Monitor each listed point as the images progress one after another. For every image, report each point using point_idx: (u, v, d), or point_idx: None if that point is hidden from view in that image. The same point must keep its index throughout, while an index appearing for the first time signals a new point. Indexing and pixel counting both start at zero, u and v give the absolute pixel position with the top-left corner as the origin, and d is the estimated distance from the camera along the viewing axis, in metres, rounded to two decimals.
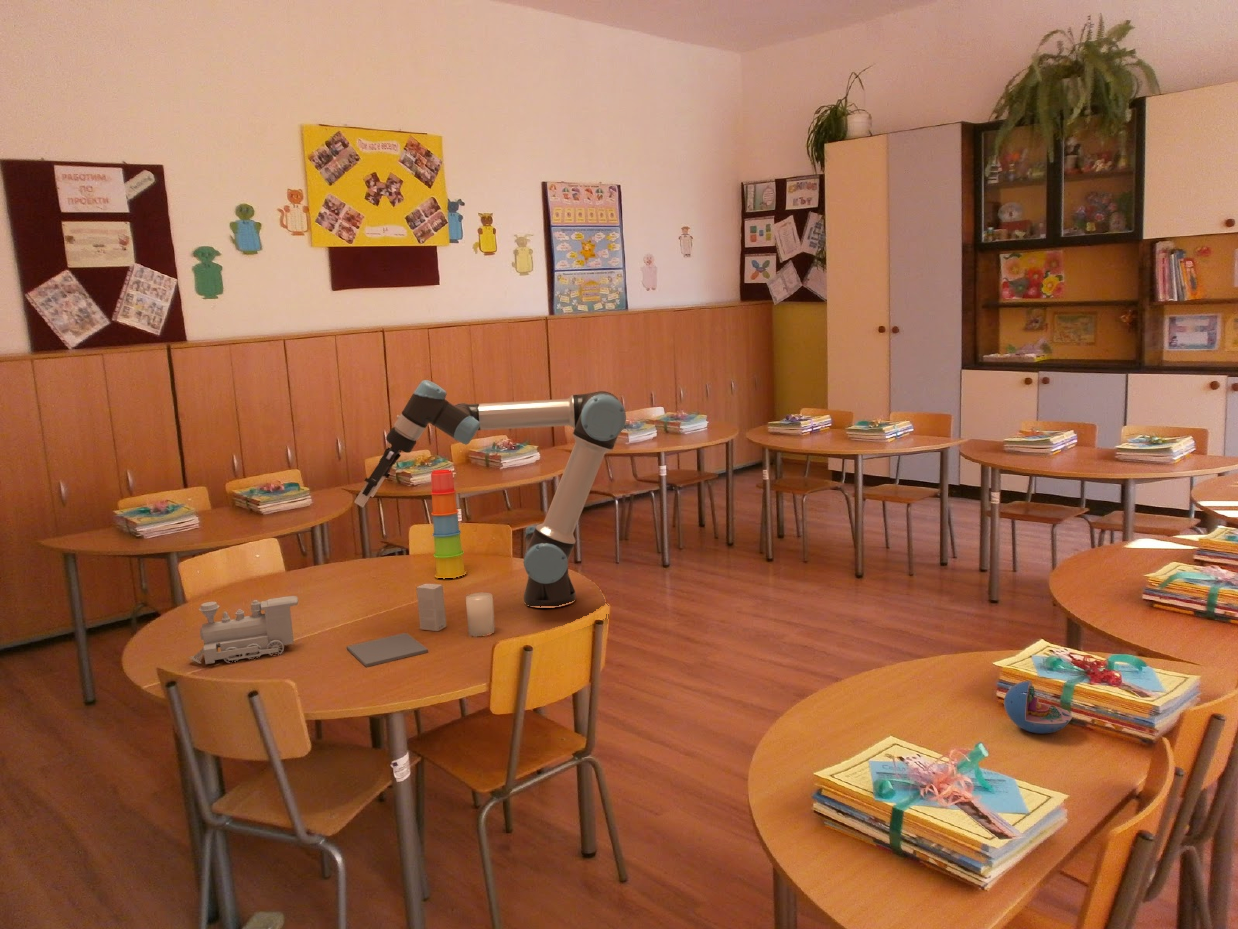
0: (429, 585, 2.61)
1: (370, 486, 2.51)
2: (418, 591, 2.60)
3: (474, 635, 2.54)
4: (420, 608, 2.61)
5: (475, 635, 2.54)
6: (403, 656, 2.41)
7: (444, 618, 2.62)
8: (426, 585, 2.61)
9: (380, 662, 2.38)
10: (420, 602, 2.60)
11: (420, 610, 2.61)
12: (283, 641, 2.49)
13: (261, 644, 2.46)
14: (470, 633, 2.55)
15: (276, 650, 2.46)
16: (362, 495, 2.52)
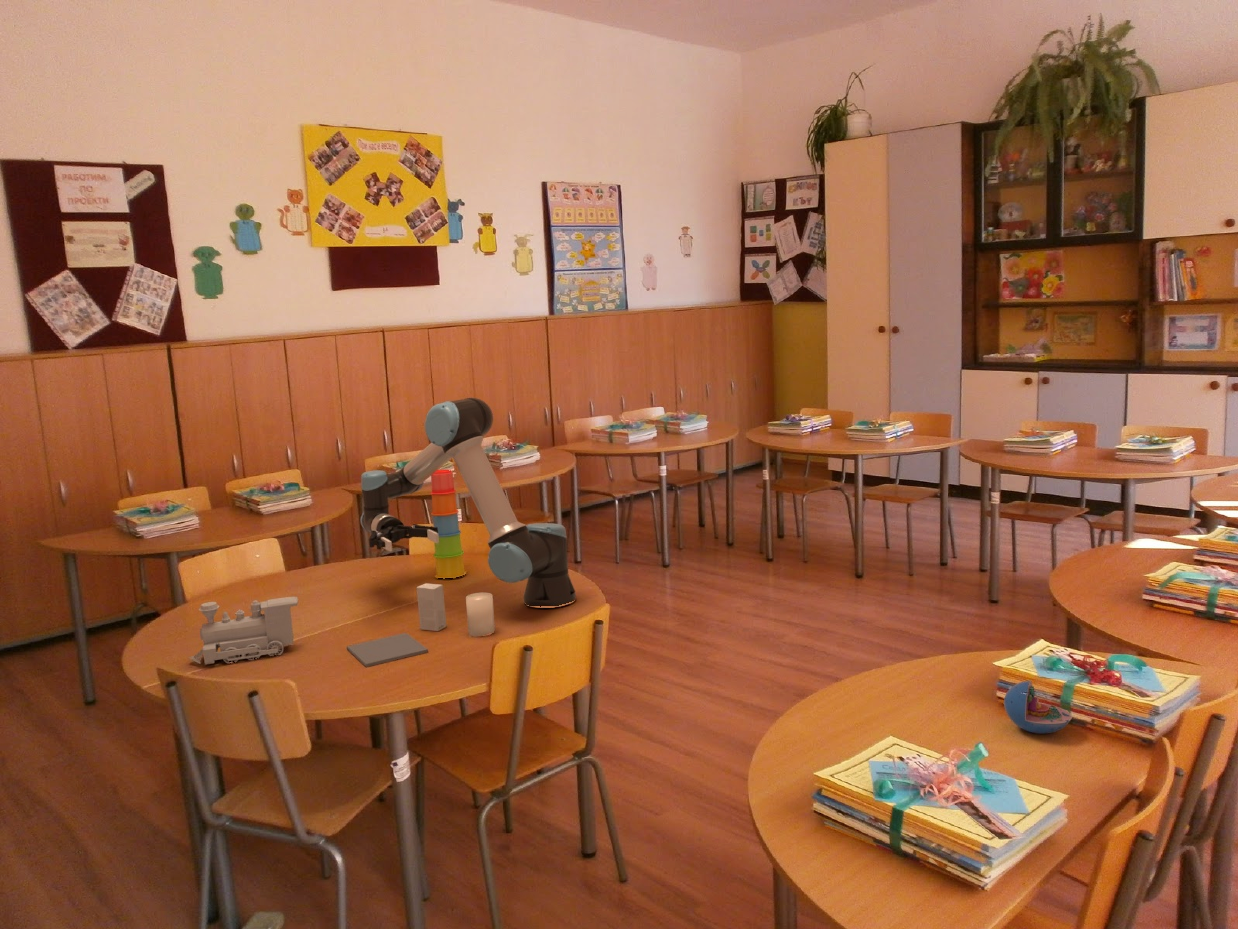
0: (429, 585, 2.61)
1: (377, 542, 2.67)
2: (418, 591, 2.60)
3: (474, 635, 2.54)
4: (420, 608, 2.61)
5: (475, 635, 2.54)
6: (403, 656, 2.41)
7: (444, 618, 2.62)
8: (426, 585, 2.61)
9: (380, 662, 2.38)
10: (420, 602, 2.60)
11: (420, 610, 2.61)
12: (283, 642, 2.48)
13: (261, 645, 2.46)
14: (470, 633, 2.55)
15: (276, 651, 2.46)
16: (385, 546, 2.65)
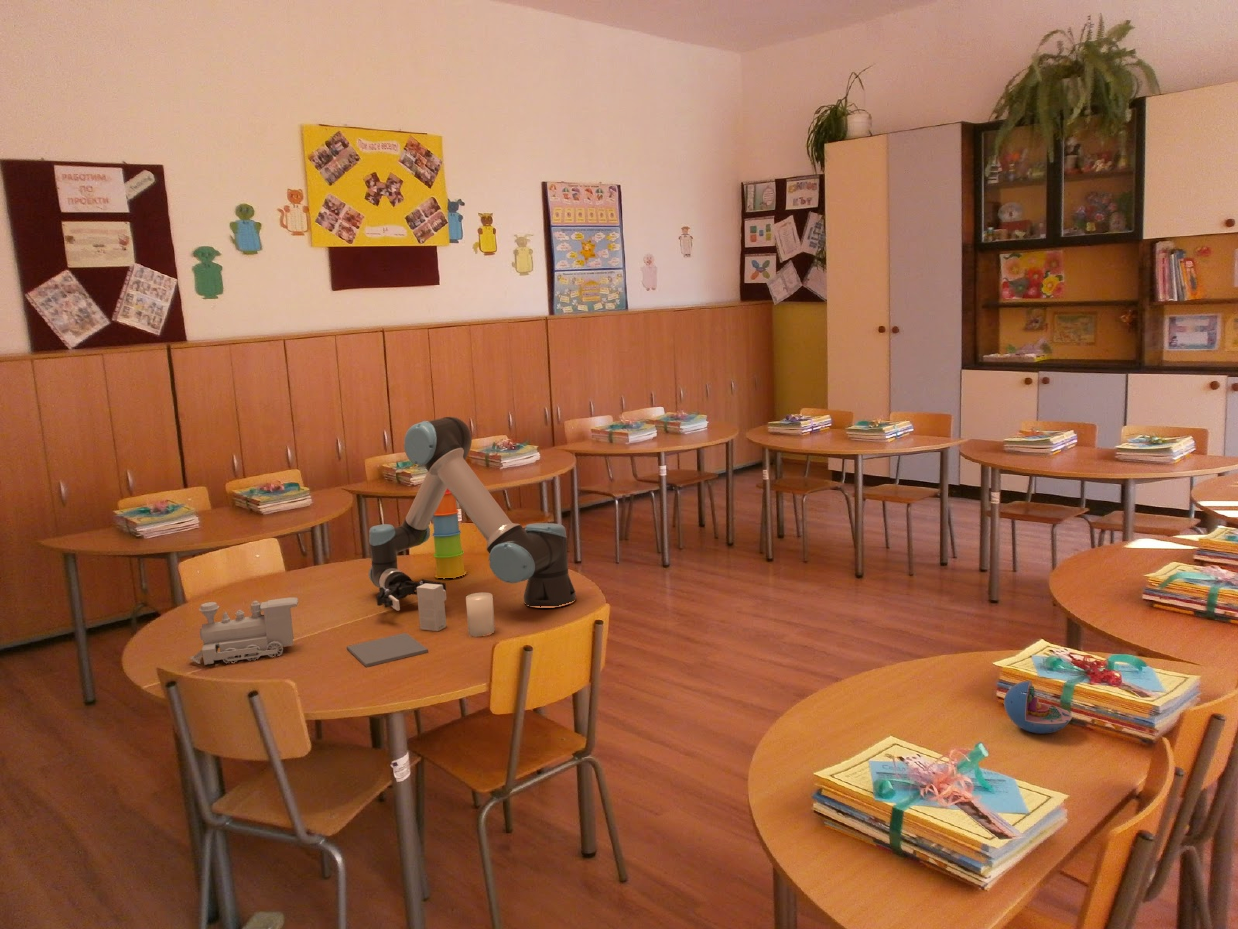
0: (429, 585, 2.61)
1: (385, 600, 2.67)
2: (418, 591, 2.60)
3: (474, 635, 2.54)
4: (420, 608, 2.61)
5: (475, 635, 2.54)
6: (403, 656, 2.41)
7: (444, 618, 2.62)
8: (426, 585, 2.61)
9: (380, 662, 2.38)
10: (420, 602, 2.60)
11: (420, 610, 2.61)
12: (282, 642, 2.48)
13: (260, 645, 2.45)
14: (470, 633, 2.55)
15: (275, 651, 2.45)
16: (393, 605, 2.65)
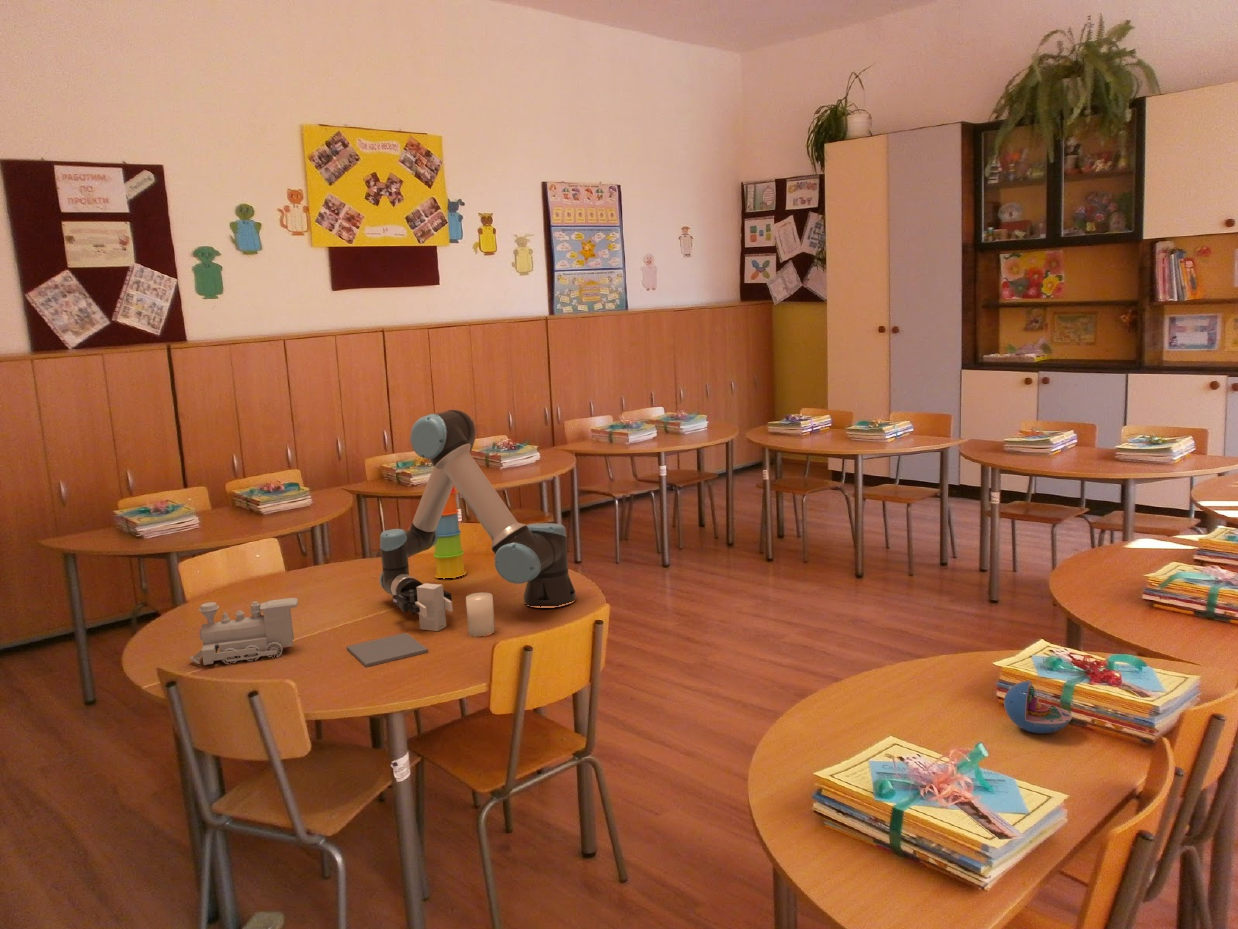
0: (429, 585, 2.61)
1: (411, 607, 2.60)
2: (418, 591, 2.60)
3: (474, 635, 2.54)
4: None
5: (475, 635, 2.54)
6: (403, 656, 2.41)
7: (444, 618, 2.62)
8: (426, 585, 2.61)
9: (380, 662, 2.38)
10: (420, 602, 2.60)
11: None
12: (282, 643, 2.47)
13: (260, 646, 2.45)
14: (470, 633, 2.55)
15: (274, 652, 2.45)
16: (420, 611, 2.57)
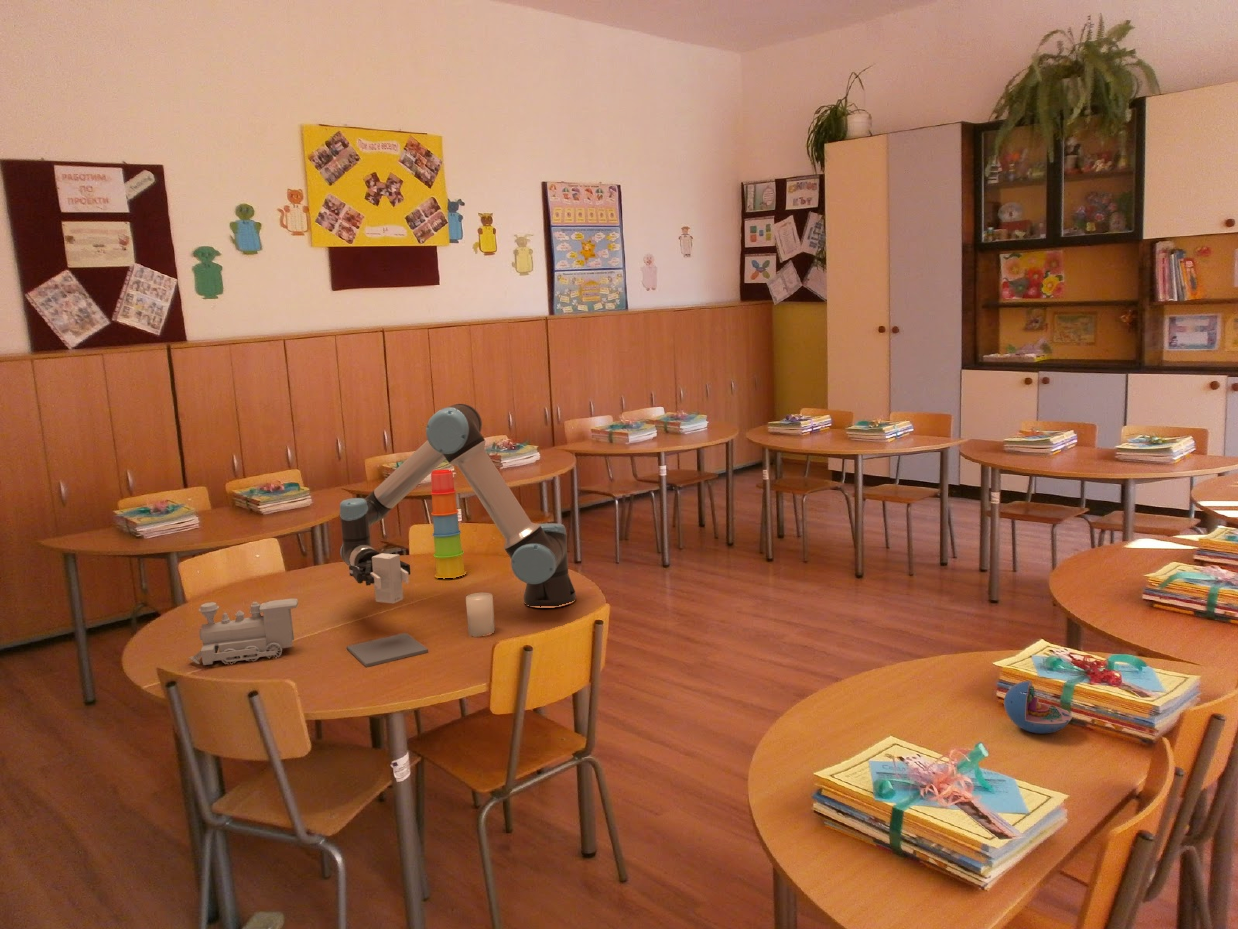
0: (385, 555, 2.48)
1: (366, 578, 2.47)
2: (373, 561, 2.47)
3: (474, 635, 2.54)
4: None
5: (475, 635, 2.54)
6: (403, 656, 2.41)
7: (401, 590, 2.49)
8: (382, 555, 2.48)
9: (380, 662, 2.38)
10: (375, 573, 2.47)
11: None
12: (282, 644, 2.47)
13: (259, 646, 2.44)
14: (470, 633, 2.55)
15: (274, 653, 2.44)
16: (374, 582, 2.44)
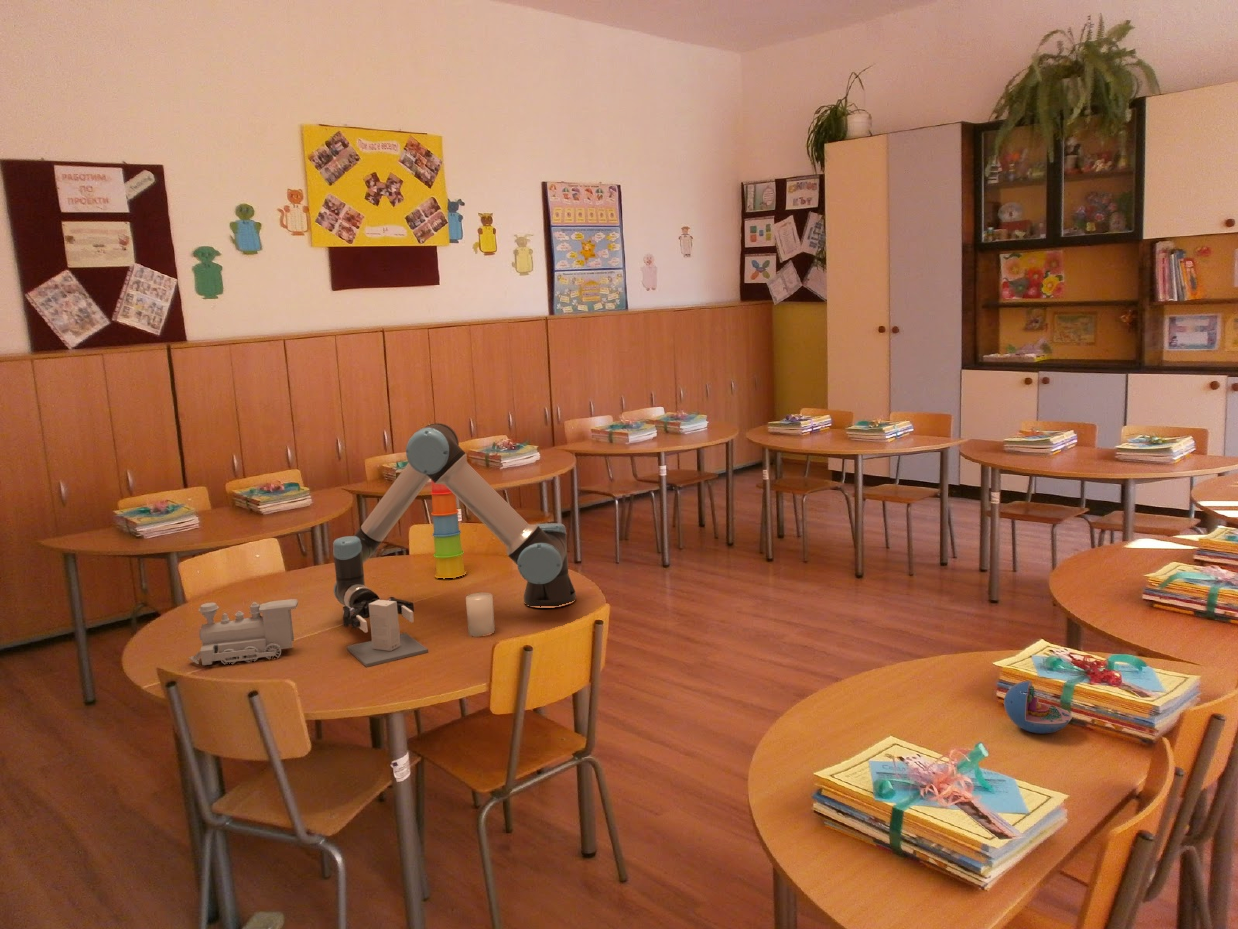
0: (382, 602, 2.45)
1: (352, 621, 2.43)
2: (370, 608, 2.44)
3: (474, 635, 2.54)
4: (372, 626, 2.45)
5: (475, 635, 2.54)
6: (403, 656, 2.41)
7: (398, 637, 2.46)
8: (379, 602, 2.45)
9: (380, 662, 2.38)
10: (372, 620, 2.44)
11: (373, 628, 2.45)
12: (281, 645, 2.46)
13: (259, 647, 2.44)
14: (470, 633, 2.55)
15: (273, 654, 2.44)
16: (361, 626, 2.41)
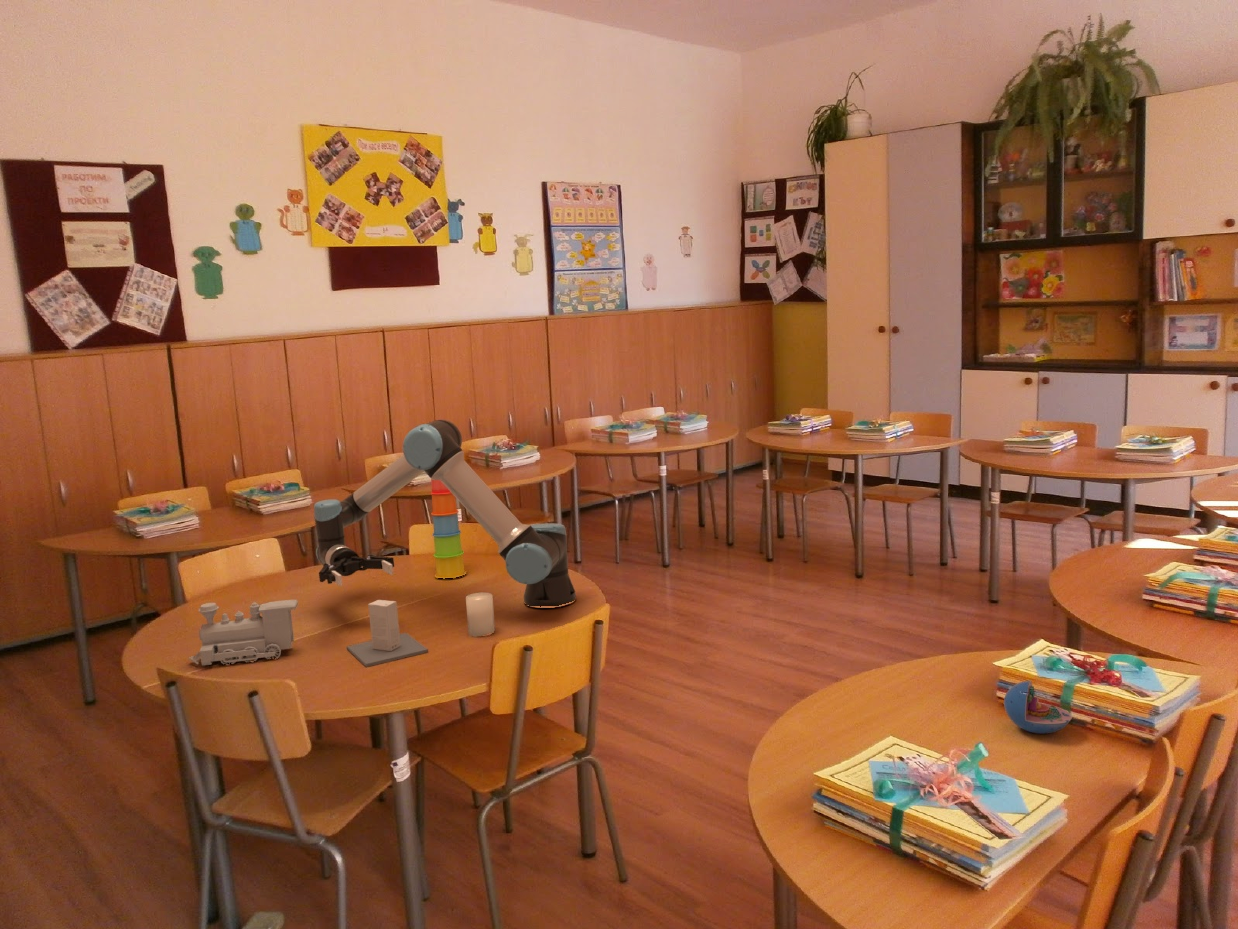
0: (382, 602, 2.45)
1: (327, 576, 2.53)
2: (370, 608, 2.44)
3: (474, 635, 2.54)
4: (372, 626, 2.45)
5: (475, 635, 2.54)
6: (403, 656, 2.41)
7: (398, 637, 2.46)
8: (379, 602, 2.45)
9: (380, 662, 2.38)
10: (372, 620, 2.44)
11: (372, 629, 2.45)
12: (281, 645, 2.46)
13: (258, 647, 2.44)
14: (470, 633, 2.55)
15: (272, 654, 2.43)
16: (336, 580, 2.51)
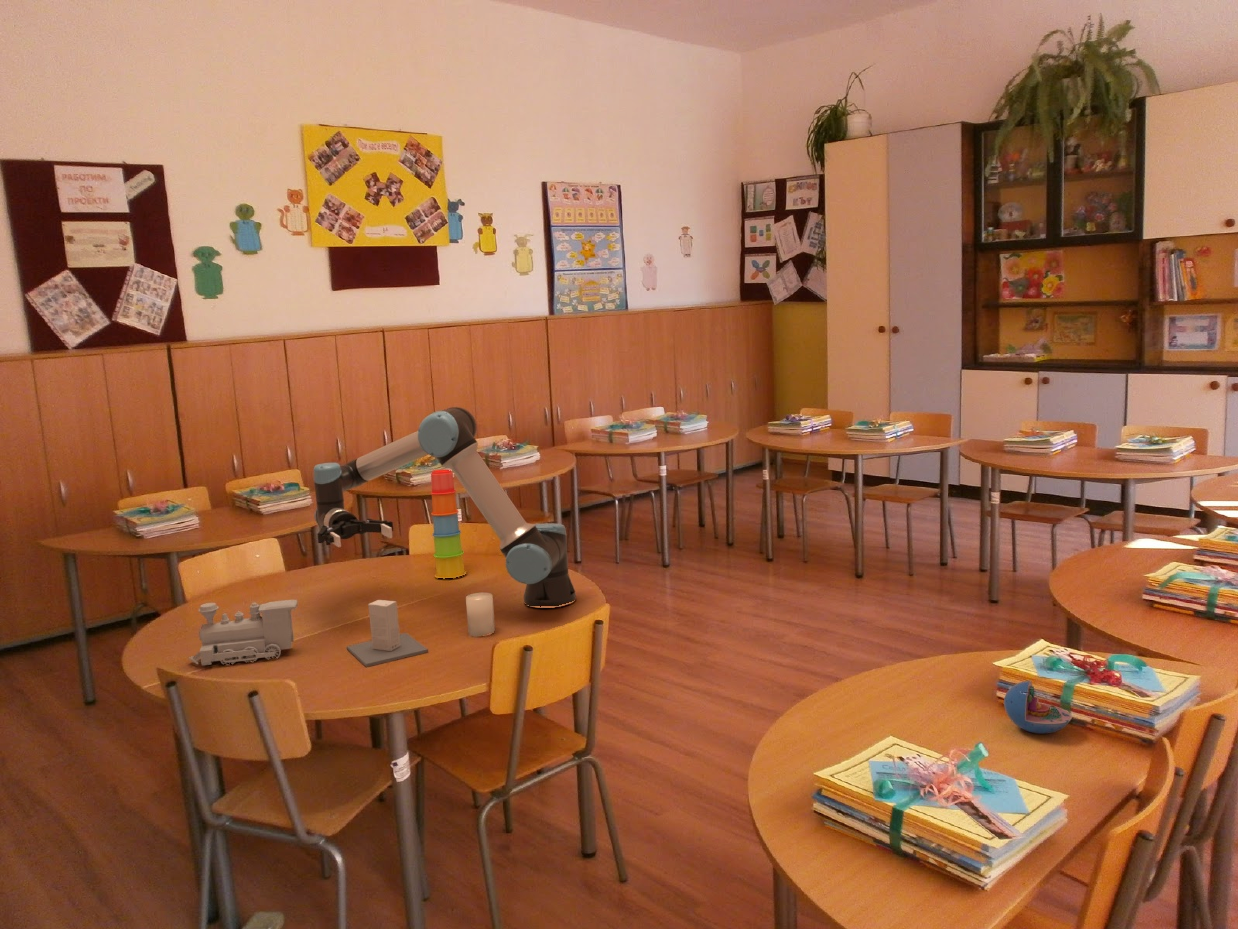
0: (382, 602, 2.45)
1: (326, 537, 2.51)
2: (370, 608, 2.44)
3: (474, 635, 2.54)
4: (372, 626, 2.45)
5: (475, 635, 2.54)
6: (403, 656, 2.41)
7: (398, 637, 2.46)
8: (379, 602, 2.45)
9: (380, 662, 2.38)
10: (372, 620, 2.44)
11: (372, 629, 2.45)
12: (281, 645, 2.46)
13: (258, 647, 2.44)
14: (470, 633, 2.55)
15: (272, 654, 2.43)
16: (334, 541, 2.49)
